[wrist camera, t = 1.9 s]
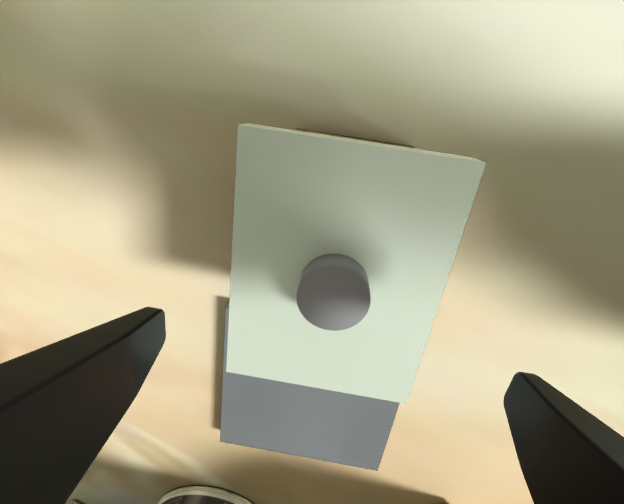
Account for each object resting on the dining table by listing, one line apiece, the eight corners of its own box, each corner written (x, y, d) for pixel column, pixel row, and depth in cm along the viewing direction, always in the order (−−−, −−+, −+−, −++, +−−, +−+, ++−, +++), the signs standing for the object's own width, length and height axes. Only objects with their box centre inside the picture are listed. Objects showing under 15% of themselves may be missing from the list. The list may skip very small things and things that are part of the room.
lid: (463, 153, 12) (500, 168, 9) (398, 366, 16) (409, 425, 13) (255, 121, 12) (226, 125, 9) (241, 338, 16) (217, 390, 13)
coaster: (416, 332, 20) (419, 341, 19) (376, 459, 24) (377, 470, 23) (230, 300, 20) (225, 308, 19) (223, 431, 24) (220, 441, 24)
